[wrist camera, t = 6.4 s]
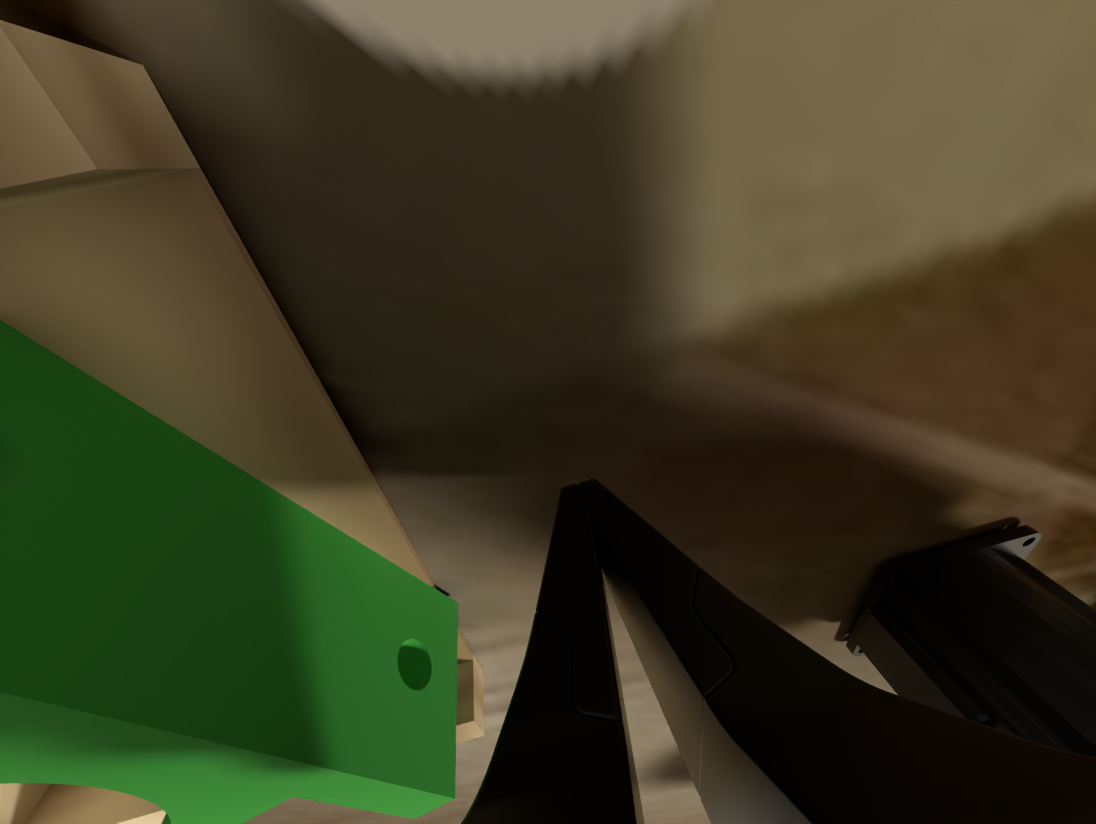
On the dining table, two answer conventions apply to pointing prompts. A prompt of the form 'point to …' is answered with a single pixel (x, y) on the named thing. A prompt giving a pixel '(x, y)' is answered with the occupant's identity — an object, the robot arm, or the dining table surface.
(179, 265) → the corral
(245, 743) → the pipe clamp
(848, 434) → the dining table surface
